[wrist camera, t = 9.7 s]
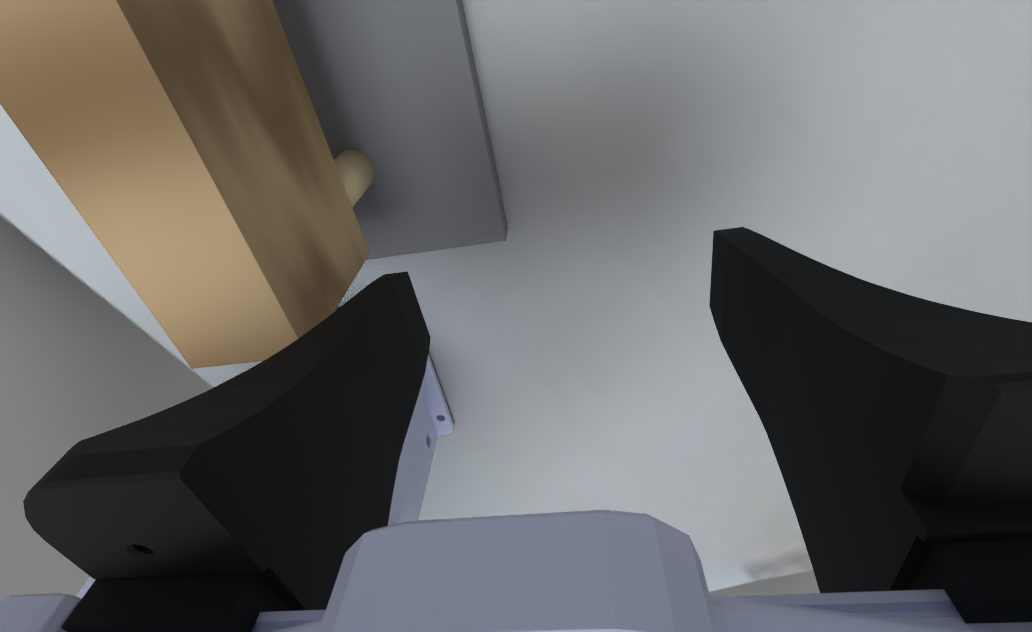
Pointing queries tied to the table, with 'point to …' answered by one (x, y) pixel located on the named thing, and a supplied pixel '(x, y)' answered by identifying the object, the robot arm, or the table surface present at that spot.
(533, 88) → the table surface
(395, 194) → the peg stand
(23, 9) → the oak bar
